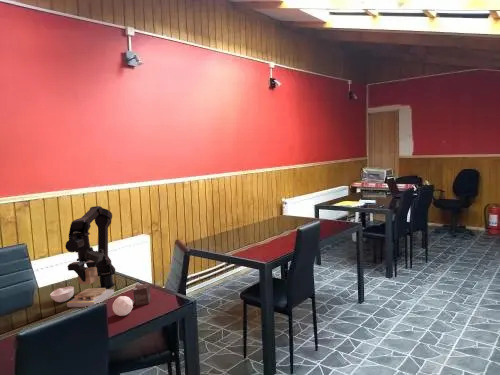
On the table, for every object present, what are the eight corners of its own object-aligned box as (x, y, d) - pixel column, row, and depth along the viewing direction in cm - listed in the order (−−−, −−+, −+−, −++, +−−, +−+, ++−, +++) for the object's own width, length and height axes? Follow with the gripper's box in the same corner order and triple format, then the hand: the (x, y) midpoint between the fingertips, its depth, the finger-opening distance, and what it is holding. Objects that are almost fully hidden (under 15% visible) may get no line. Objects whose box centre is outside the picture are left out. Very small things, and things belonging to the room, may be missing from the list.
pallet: (88, 292, 199) (87, 288, 198) (106, 291, 196) (105, 287, 196) (74, 300, 189) (74, 296, 189) (93, 299, 187) (93, 295, 186)
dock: (88, 293, 202) (88, 289, 202) (114, 293, 199) (113, 289, 199) (67, 307, 187) (66, 302, 187) (94, 306, 183) (93, 302, 183)
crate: (87, 279, 196) (85, 267, 195) (98, 279, 194) (96, 266, 194) (79, 284, 190) (77, 271, 189) (90, 283, 188) (88, 270, 188)
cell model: (81, 295, 201) (79, 282, 200) (65, 305, 189) (62, 291, 189) (63, 296, 203) (61, 282, 203) (46, 305, 192) (43, 291, 191)
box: (151, 299, 185) (149, 283, 184) (148, 304, 179) (146, 288, 178) (138, 300, 185) (136, 285, 184) (134, 306, 179) (132, 289, 178)
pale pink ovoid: (105, 310, 167) (120, 302, 179) (120, 322, 165) (135, 313, 177) (114, 295, 166) (128, 287, 178) (130, 306, 165) (143, 298, 176)
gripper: (86, 251, 179) (91, 285, 181) (110, 240, 197) (114, 272, 199) (64, 252, 182) (69, 286, 184) (89, 241, 200) (94, 272, 202)
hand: (88, 279), depth 192 cm, fingers closed on crate, 6 cm apart
